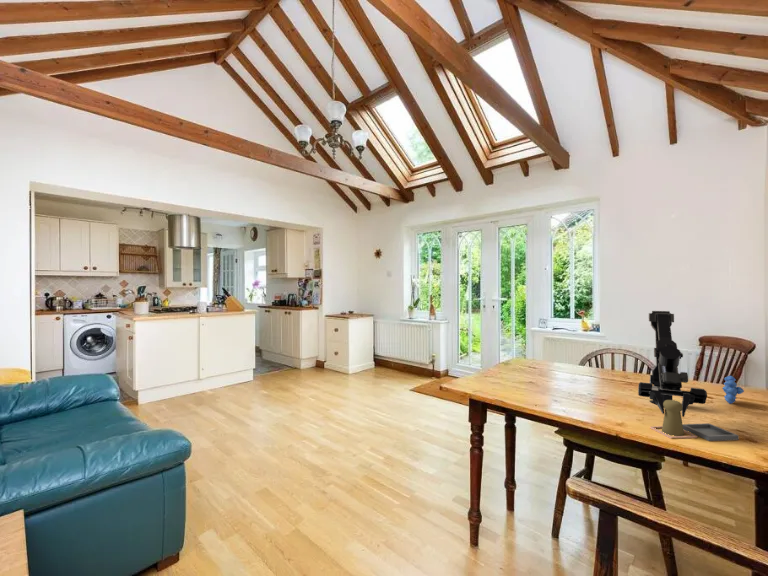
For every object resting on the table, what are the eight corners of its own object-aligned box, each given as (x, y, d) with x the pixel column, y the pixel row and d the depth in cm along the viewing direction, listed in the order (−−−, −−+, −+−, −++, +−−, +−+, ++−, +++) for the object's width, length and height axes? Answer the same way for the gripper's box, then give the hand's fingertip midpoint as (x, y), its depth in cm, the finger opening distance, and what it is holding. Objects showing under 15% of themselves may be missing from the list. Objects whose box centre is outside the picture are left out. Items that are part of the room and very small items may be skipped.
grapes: (746, 409, 146) (746, 379, 146) (723, 406, 150) (723, 377, 150) (742, 401, 155) (742, 373, 155) (720, 398, 159) (720, 371, 159)
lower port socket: (681, 428, 128) (681, 424, 128) (709, 427, 128) (709, 423, 128) (708, 441, 118) (708, 436, 118) (738, 439, 118) (738, 435, 118)
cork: (674, 429, 128) (673, 397, 127) (689, 436, 122) (688, 403, 121) (657, 429, 127) (657, 398, 127) (671, 436, 121) (671, 403, 121)
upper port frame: (649, 428, 129) (649, 426, 129) (674, 427, 129) (674, 425, 129) (671, 438, 120) (671, 437, 120) (697, 437, 120) (697, 436, 120)
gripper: (638, 360, 132) (640, 398, 123) (705, 365, 123) (713, 407, 113) (637, 376, 139) (639, 414, 130) (701, 383, 129) (708, 424, 120)
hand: (673, 414), depth 123 cm, fingers closed on cork, 5 cm apart
